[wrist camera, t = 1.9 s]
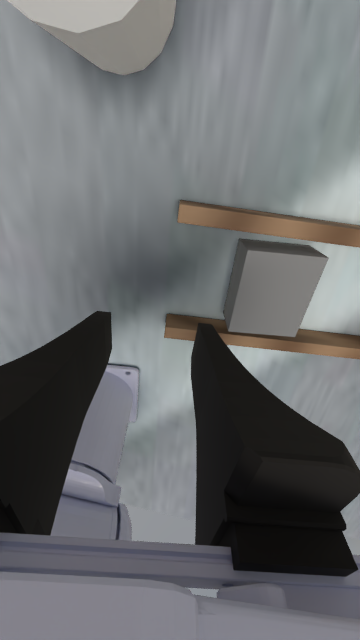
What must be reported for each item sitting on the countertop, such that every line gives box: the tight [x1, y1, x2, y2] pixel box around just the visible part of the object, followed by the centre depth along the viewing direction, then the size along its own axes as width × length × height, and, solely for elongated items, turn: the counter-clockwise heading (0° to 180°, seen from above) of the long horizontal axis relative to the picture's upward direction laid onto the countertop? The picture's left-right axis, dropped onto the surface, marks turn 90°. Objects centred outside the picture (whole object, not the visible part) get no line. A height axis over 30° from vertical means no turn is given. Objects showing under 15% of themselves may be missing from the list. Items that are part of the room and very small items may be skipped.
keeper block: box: [223, 239, 328, 337], centre depth 18 cm, size 5×6×3 cm
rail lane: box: [164, 200, 360, 359], centre depth 17 cm, size 20×11×4 cm, turn 83°
